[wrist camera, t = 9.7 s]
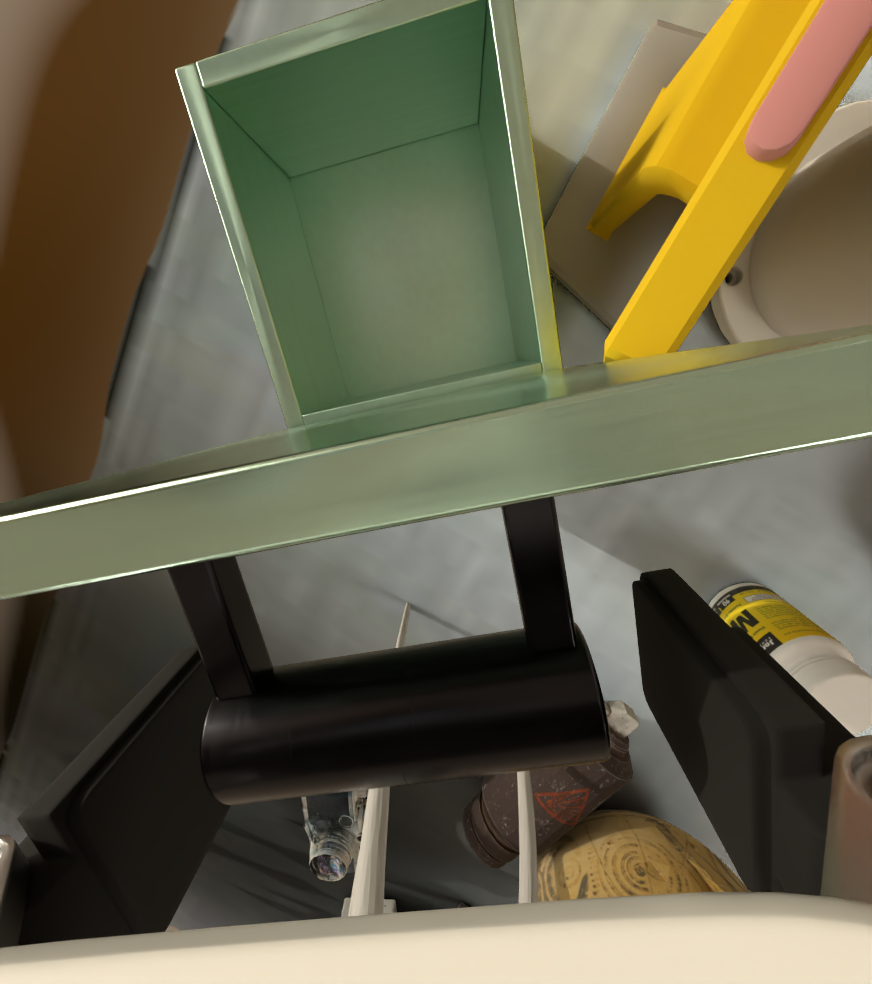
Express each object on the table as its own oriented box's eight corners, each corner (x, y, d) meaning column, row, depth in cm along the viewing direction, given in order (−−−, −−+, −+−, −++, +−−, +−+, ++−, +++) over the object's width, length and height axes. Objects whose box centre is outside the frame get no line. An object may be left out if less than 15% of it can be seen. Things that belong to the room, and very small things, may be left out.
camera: (370, 760, 35) (358, 813, 31) (376, 852, 38) (366, 910, 34) (307, 758, 35) (288, 809, 31) (318, 849, 38) (302, 907, 34)
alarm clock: (604, 400, 26) (802, 458, 11) (488, 336, 25) (528, 304, 10) (849, 10, 20) (1962, -984, 5) (708, -87, 20) (1525, -1553, 5)
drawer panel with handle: (-262, 571, 5) (-21, 956, 6) (978, 308, 3) (942, 882, 5) (282, 429, 18) (319, 555, 19) (565, 367, 17) (585, 506, 18)
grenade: (513, 821, 35) (648, 703, 32) (516, 903, 30) (683, 770, 26) (438, 763, 35) (566, 637, 32) (427, 834, 29) (582, 690, 26)
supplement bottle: (710, 579, 29) (806, 664, 21) (784, 581, 29) (910, 668, 21) (697, 641, 30) (782, 743, 22) (768, 644, 30) (879, 748, 22)
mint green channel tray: (276, 171, 23) (173, 67, 15) (490, 108, 22) (508, -44, 14) (343, 412, 27) (289, 437, 19) (530, 371, 26) (564, 378, 17)
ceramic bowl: (621, 704, 32) (750, 985, 18) (791, 811, 34) (1030, 1142, 20) (447, 871, 38) (439, 1182, 24) (601, 954, 40) (678, 1286, 26)
